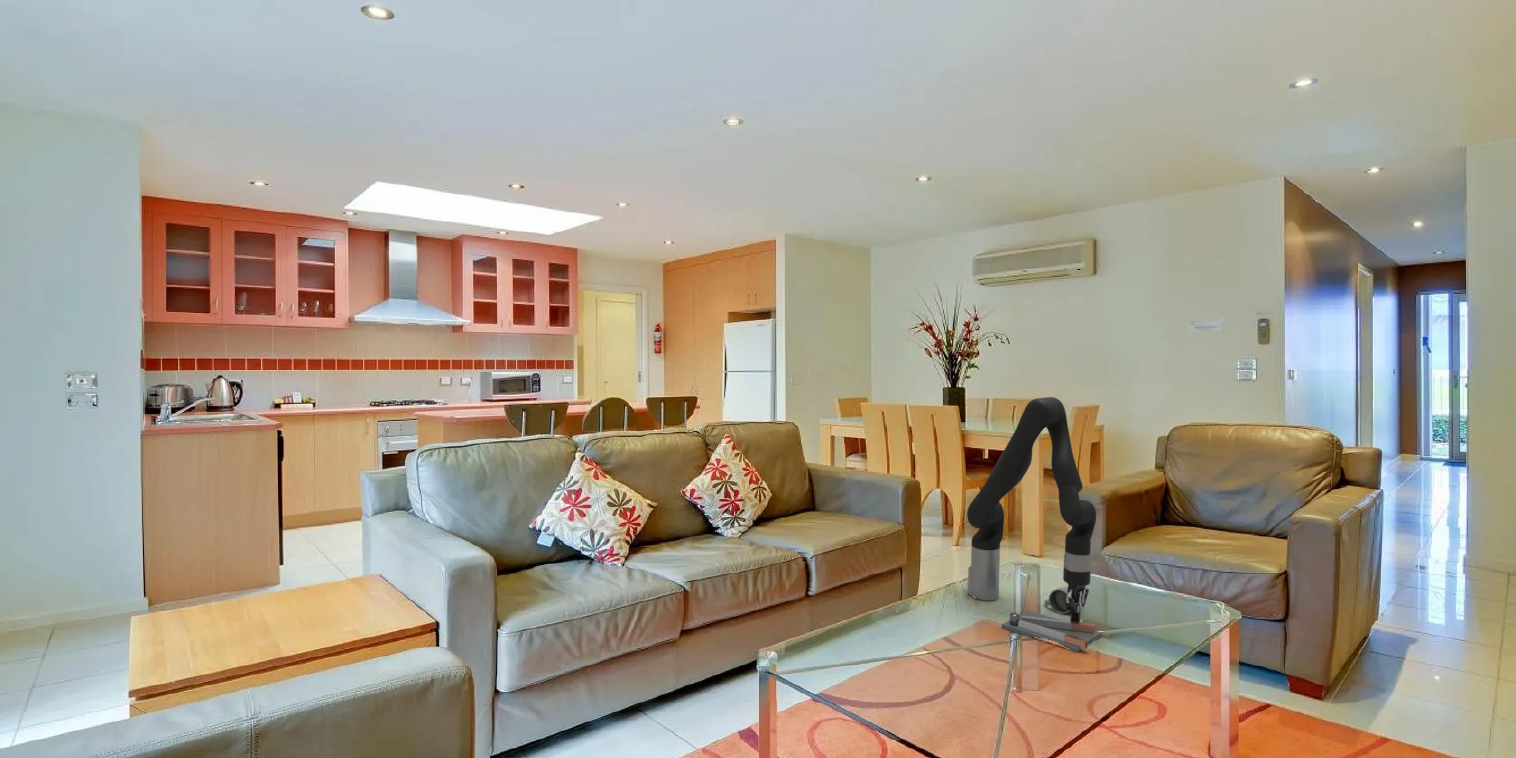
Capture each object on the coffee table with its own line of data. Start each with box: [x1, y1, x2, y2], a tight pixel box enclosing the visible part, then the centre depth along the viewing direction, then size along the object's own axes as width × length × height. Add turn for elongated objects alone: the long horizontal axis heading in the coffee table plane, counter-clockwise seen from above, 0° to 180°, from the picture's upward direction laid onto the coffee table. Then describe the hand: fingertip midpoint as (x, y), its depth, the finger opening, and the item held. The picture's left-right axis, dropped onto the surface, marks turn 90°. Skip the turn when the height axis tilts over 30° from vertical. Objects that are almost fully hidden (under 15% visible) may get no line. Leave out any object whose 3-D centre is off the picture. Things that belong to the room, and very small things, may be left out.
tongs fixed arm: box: [1009, 612, 1089, 650], centre depth 217 cm, size 24×3×3 cm, turn 43°
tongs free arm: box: [1022, 616, 1095, 633], centre depth 222 cm, size 20×2×2 cm, turn 71°
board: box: [1001, 610, 1102, 653], centre depth 222 cm, size 23×16×1 cm
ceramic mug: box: [1043, 585, 1071, 615], centre depth 240 cm, size 11×8×8 cm
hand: (1075, 622), depth 224 cm, fingers closed
